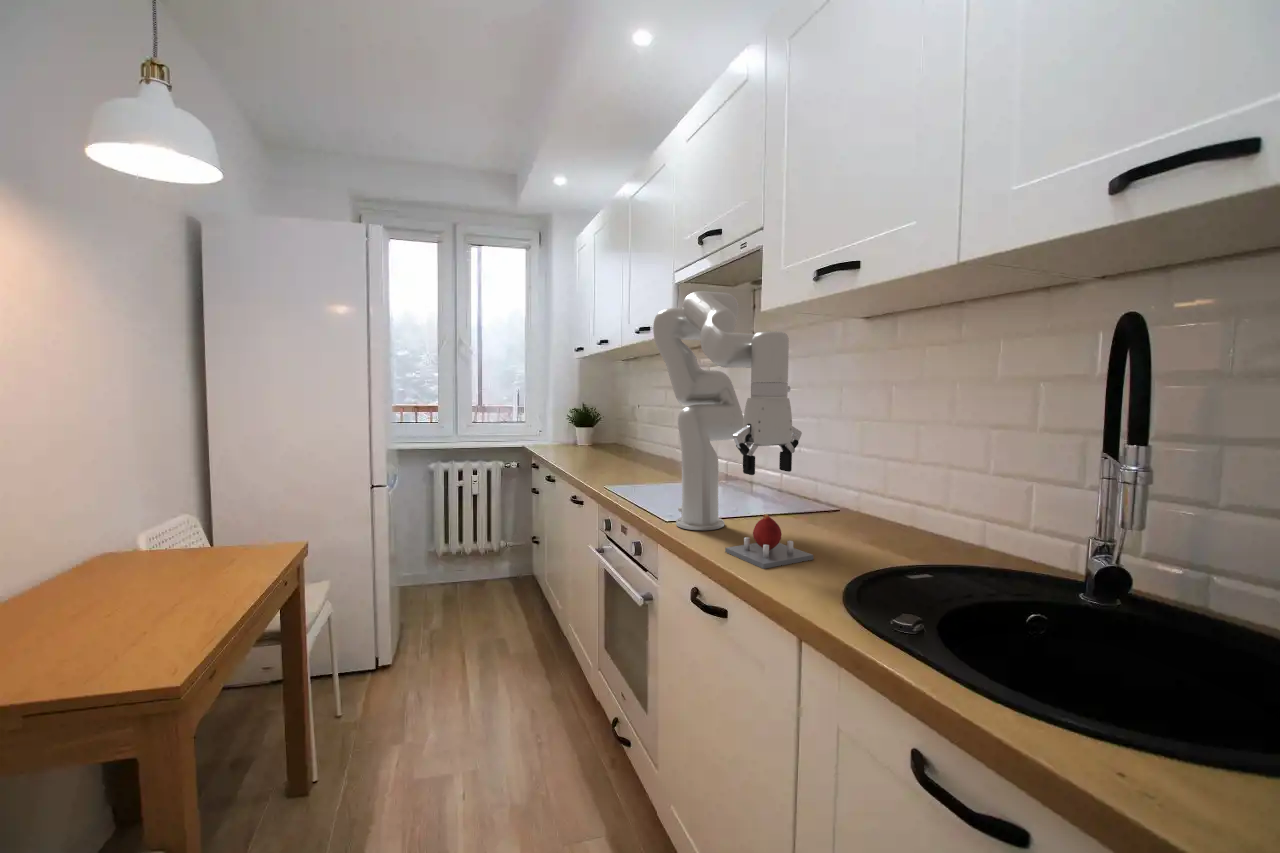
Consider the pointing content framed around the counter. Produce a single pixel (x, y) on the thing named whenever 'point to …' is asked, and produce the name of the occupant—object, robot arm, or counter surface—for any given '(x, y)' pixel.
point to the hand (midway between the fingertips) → (767, 472)
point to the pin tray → (768, 554)
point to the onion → (767, 532)
